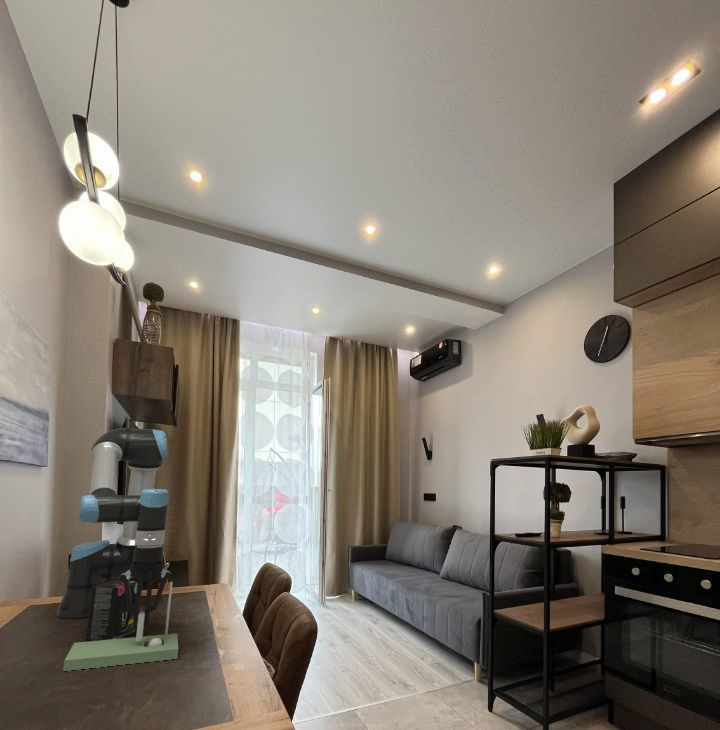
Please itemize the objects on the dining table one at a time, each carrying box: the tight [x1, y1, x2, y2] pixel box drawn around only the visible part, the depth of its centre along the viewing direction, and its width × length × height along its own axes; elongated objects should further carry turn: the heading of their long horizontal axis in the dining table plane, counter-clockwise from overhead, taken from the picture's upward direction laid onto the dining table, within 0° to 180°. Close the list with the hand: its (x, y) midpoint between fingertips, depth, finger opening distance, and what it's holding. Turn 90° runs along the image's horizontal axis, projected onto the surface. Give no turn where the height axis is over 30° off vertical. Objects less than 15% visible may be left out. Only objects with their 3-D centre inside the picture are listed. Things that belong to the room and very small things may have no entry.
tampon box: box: [85, 579, 138, 641], centre depth 146 cm, size 11×9×15 cm
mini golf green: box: [62, 581, 179, 672], centre depth 130 cm, size 14×26×16 cm, turn 111°
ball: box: [148, 638, 162, 647], centre depth 130 cm, size 4×4×4 cm
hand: (139, 639), depth 130 cm, fingers closed
